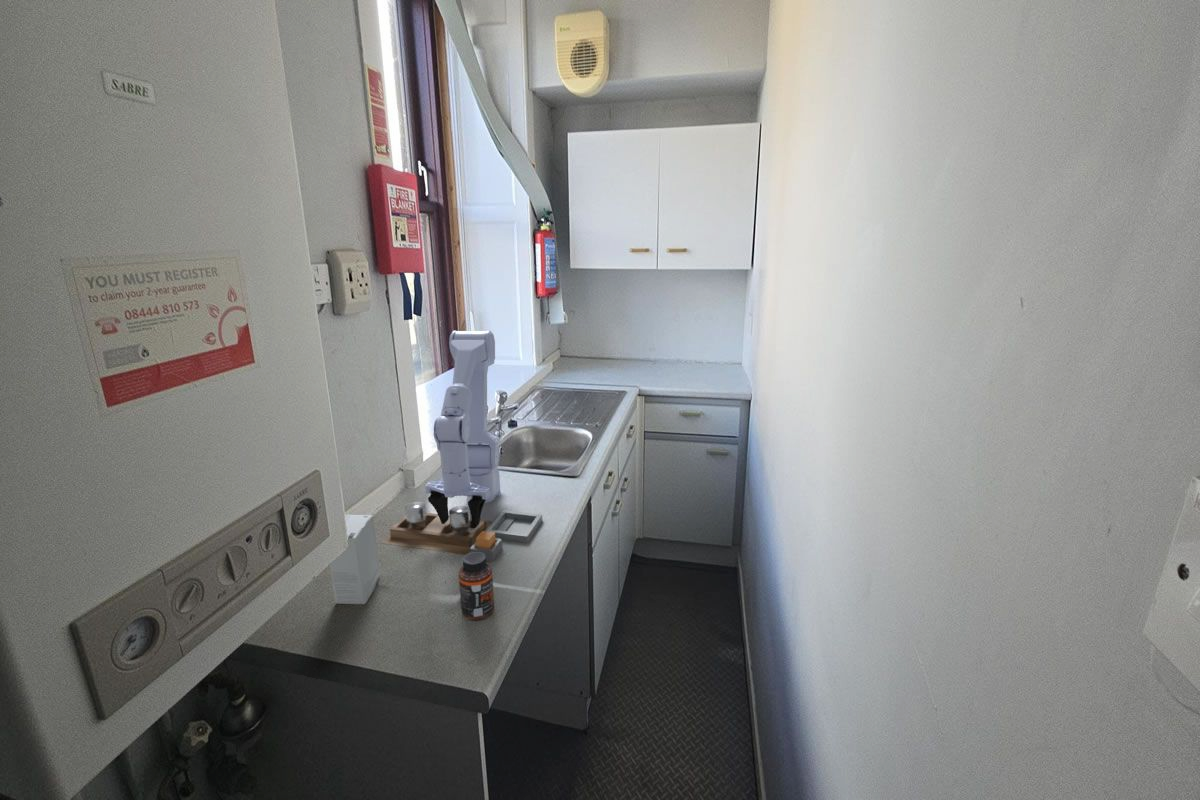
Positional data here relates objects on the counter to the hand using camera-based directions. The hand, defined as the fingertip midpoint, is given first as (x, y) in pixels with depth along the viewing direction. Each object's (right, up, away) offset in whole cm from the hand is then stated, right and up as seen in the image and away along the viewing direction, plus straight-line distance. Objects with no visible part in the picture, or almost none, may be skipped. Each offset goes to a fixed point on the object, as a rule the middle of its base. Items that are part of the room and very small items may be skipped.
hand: (460, 523), depth 123 cm
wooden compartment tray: (-5, -3, +2) cm, 7 cm away
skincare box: (-15, -10, -17) cm, 25 cm away
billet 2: (0, -3, +1) cm, 3 cm away
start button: (+7, -4, -6) cm, 10 cm away
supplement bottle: (+9, -11, -22) cm, 27 cm away
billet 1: (-11, -2, +3) cm, 11 cm away
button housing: (+7, -6, -5) cm, 11 cm away
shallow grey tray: (+12, -3, +4) cm, 13 cm away
